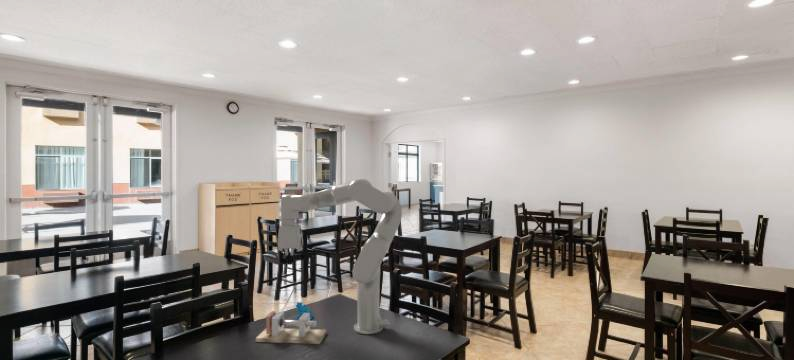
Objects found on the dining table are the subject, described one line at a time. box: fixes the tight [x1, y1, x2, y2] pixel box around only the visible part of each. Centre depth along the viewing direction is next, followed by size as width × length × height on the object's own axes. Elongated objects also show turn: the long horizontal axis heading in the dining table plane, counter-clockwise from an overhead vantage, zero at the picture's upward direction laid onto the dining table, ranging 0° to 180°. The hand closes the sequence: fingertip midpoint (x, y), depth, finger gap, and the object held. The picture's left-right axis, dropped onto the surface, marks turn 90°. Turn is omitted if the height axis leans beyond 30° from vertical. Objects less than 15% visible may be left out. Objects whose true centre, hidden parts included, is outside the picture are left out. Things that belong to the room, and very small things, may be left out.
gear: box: [295, 301, 314, 321], centre depth 180 cm, size 11×6×10 cm
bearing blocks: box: [272, 311, 311, 338], centre depth 160 cm, size 14×7×8 cm, turn 86°
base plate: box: [255, 327, 327, 345], centre depth 160 cm, size 26×10×2 cm, turn 86°
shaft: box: [265, 310, 318, 334], centre depth 160 cm, size 20×6×7 cm, turn 86°
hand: (290, 263), depth 172 cm, fingers closed
